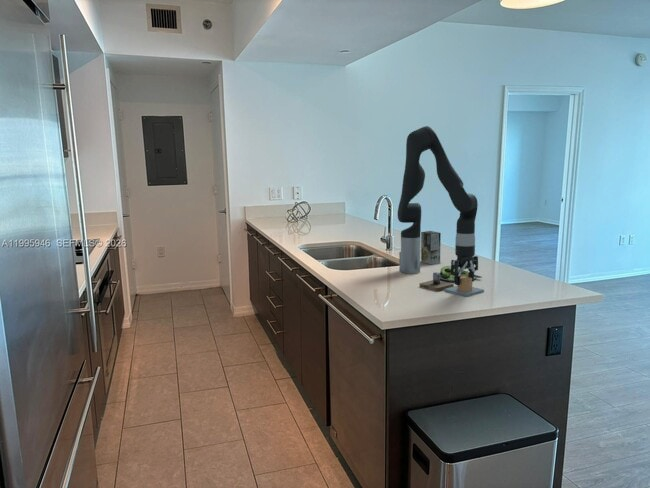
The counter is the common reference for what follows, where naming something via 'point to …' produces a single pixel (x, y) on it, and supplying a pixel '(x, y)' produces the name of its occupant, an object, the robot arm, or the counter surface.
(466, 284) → the cap
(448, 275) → the salad plate
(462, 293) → the tile
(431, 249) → the coffee box
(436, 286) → the post stand
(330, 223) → the counter surface
